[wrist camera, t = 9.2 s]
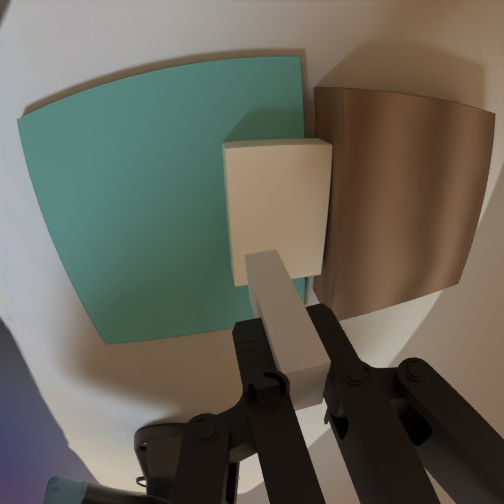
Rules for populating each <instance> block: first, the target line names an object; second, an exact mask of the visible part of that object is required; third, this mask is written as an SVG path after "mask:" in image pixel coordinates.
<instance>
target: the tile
mask: <svg viewBox="0 0 504 504" xmlns="http://www.w3.org/2000/svg"><path fill="white" fill-rule="evenodd" d="M222 147H223V163H224V178H225V193H226V207H227V220H228V233H229V246H230V258H231V270H232V274H233V279H234V284H235V287H236V286H243V285H248V280H247V272H246V264H245V256H244V255H247V254H252V253H258V252H264V251H270V250H275V249H277V251H278V253H279V255H280V257H281V260H282V262H283V264H284V266H285V268H286V270H287V272H288V274H289V276H290V278H291V279H294V278H301V277H308V276H315V275H321V268H322V260H323V252H324V244H325V235H326V225H327V215H328V204H329V192H330V179H331V164H332V147H333V145H332V144H330V143H328V142H326V141H324V140H322V139H320V138H292V139H262V140H245V141H231V142H222Z"/></svg>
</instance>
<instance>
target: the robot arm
mask: <svg viewBox="0 0 504 504" xmlns="http://www.w3.org/2000/svg"><path fill="white" fill-rule="evenodd" d="M244 256H245V264H246V272H247V280H248V289H249V297H250V302H251V306H252V309H253V313H254V316H255V318H254V319H249V320H244V321H239V322H236V323H235V326H234V329H233V332H232V334H233V340H234V345H235V350H236V355H237V360H238V365H239V370H240V375H241V380H242V385H243V393H242V397H241V398H240V400H239V402H238V403H237V404H236V405H235V406H234V407H232V408H230V409H229V410H227V411H225V412H223V413H220V414H218V415H214V414H210V413H207V414H200V415H197V416H195V417H193V418H192V419H191V420H190V421H189V422H188V423H187V425H186V424H167V425H157V426H151V427H147V428H144V429H141V430H139V431H138V432H136V434H135V435H134V450H135V453H136V456H137V459H138V462H139V464H140V467H141V470H142V472H143V475H144V478H145V480H146V491H147V495H140V494H135V493H129V492H125V491H119V490H115V489H110V488H106V487H102V486H97V485H94V484H90V483H87V482H86V481H79V480H75V479H71V478H67V477H64V476H59V475H56V476H53V477H51V478H50V479H49V480H48V483H47V486H46V490H45V494H44V498H43V503H42V504H236V500H237V499H236V498H237V488H238V477H239V465H240V461H242V460H244V459H246V458H248V457H250V456H252V455H253V454H255V453H258V457H259V462H260V466H261V470H262V474H263V478H264V482H265V486H266V490H267V494H268V498H269V502H270V504H326V503H325V500H324V497H323V494H322V491H321V488H320V485H319V483H318V480H317V476H316V473H315V470H314V467H313V464H312V462H311V459H310V455H309V452H308V449H307V446H306V443H305V440H304V437H303V434H302V431H301V428H300V425H299V422H298V419H297V416H296V413H295V410H299V409H303V408H307V407H310V406H314V405H317V404H321V403H322V401H323V397H324V399H325V402H326V404H327V411H326V414H325V418H324V423H325V424H328V421H329V422H330V425H331V428H332V430H333V433H334V435H335V438H336V440H337V443H338V446H339V448H340V451H341V454H342V456H343V459H344V461H345V464H346V467H347V469H348V472H349V474H350V477H351V480H352V482H353V485H354V488H355V490H356V493H357V495H358V498H359V501H360V503H361V504H440V501H439V499H438V497H437V495H436V492H435V490H434V488H433V486H432V484H431V482H430V479H429V477H428V475H427V473H426V471H425V469H426V470H427V471H428V472H429V473H430V474H431V475H432V477H433V478H434V479H435V480H436V481H437V482H438V483H439V484H440V486H441V487H442V488H443V489H444V490H445V491H446V492H447V493H448V495H449V496H450V497H451V498H452V499H453V500H454V502H455V503H456V504H504V439H503V438H502V437H501V436H500V435H499V434H498V433H497V432H496V431H495V430H494V429H493V428H492V427H491V426H490V425H489V424H488V423H487V421H486V420H484V418H483V417H482V416H481V415H480V414H479V413H478V412H477V411H476V410H475V409H474V408H473V407H472V406H471V405H470V404H469V403H468V402H467V401H466V400H465V399H464V398H463V397H462V396H461V395H460V394H459V393H458V392H457V391H456V390H455V389H454V388H453V387H451V385H450V384H449V383H448V382H447V381H446V380H445V379H443V378H442V377H441V376H440V375H439V374H438V373H437V372H436V371H435V370H434V369H433V368H432V367H431V366H430V365H429V364H428V363H427V362H425V361H424V360H422V359H419V358H407V359H405V360H403V361H402V362H401V363H400V365H399V366H398V367H395V368H374V367H371V366H370V365H368V364H366V363H365V362H362V361H361V360H360V358H359V357H358V355H357V354H356V352H355V350H354V348H353V346H352V345H351V343H350V341H349V339H348V337H347V336H346V334H345V332H344V330H342V327H341V325H340V323H339V322H338V320H337V318H336V316H335V314H334V313H333V311H332V310H331V309H330V308H328V307H327V306H326V305H324V304H323V303H321V304H317V305H312V306H308V307H305V306H304V304H303V302H302V300H301V298H300V296H299V294H298V292H297V290H296V288H295V286H294V284H293V282H292V280H291V278H290V276H289V274H288V272H287V270H286V268H285V266H284V264H283V262H282V260H281V257H280V255H279V253H278V251H277V249H275V250H270V251H264V252H258V253H252V254H247V255H244ZM423 466H424V467H425V469H424V467H423Z"/></svg>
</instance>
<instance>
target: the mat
mask: <svg viewBox="0 0 504 504" xmlns="http://www.w3.org/2000/svg"><path fill="white" fill-rule="evenodd" d="M17 123H18V129H19V134H20V138H21V143H22V147H23V151H24V155H25V159H26V163H27V167H28V171H29V174H30V178H31V181H32V184H33V188H34V191H35V194H36V197H37V200H38V203H39V206H40V209H41V212H42V215H43V217H44V220H45V223H46V225H47V228H48V231H49V233H50V236H51V238H52V241H53V243H54V245H55V248H56V250H57V252H58V255H59V257H60V259H61V261H62V264H63V266H64V268H65V270H66V272H67V274H68V277H69V279H70V281H71V283H72V285H73V287H74V289H75V291H76V293H77V295H78V297H79V298H80V300H81V302H82V304H83V306H84V308H85V310H86V311H87V313H88V315H89V317H90V319H91V320H92V322H93V324H94V326H95V327H96V329H97V331H98V332H99V334H100V336H101V337H102V339H103V341H104V342H105V344H115V343H126V342H135V341H144V340H153V339H161V338H169V337H177V336H184V335H191V334H198V333H204V332H211V331H217V330H223V329H229V328H234V326H235V323H236V322H239V321H244V320H249V319H254V318H255V316H254V313H253V309H252V306H251V302H250V297H249V289H248V285H243V286H236V287H235V284H234V279H233V274H232V270H231V258H230V246H229V233H228V220H227V207H226V193H225V178H224V163H223V147H222V142H231V141H245V140H262V139H292V138H305V134H304V111H303V93H302V78H301V64H300V56H273V57H250V58H236V59H226V60H216V61H208V62H201V63H194V64H188V65H182V66H176V67H171V68H165V69H161V70H156V71H151V72H147V73H143V74H139V75H135V76H131V77H127V78H123V79H120V80H116V81H113V82H109V83H106V84H103V85H100V86H96V87H93V88H90V89H88V90H85V91H82V92H79V93H76V94H74V95H71V96H68V97H66V98H63V99H61V100H58V101H56V102H53V103H51V104H49V105H46V106H44V107H42V108H39V109H37V110H35V111H33V112H31V113H29V114H27V115H25V116H23V117H21V118H19V119H17ZM291 280H292V282H293V284H294V286H295V288H296V290H297V292H298V294H299V296H300V298H301V300H302V302H303V304H304V292H305V277H301V278H294V279H291Z"/></svg>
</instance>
